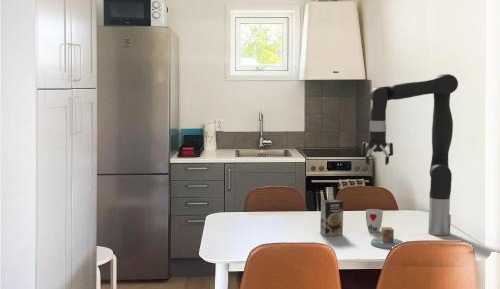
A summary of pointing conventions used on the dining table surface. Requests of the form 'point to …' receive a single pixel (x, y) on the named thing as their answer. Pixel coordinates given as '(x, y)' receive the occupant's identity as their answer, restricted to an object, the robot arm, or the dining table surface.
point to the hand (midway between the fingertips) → (377, 164)
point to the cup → (374, 219)
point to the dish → (380, 244)
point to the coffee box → (331, 217)
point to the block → (387, 234)
